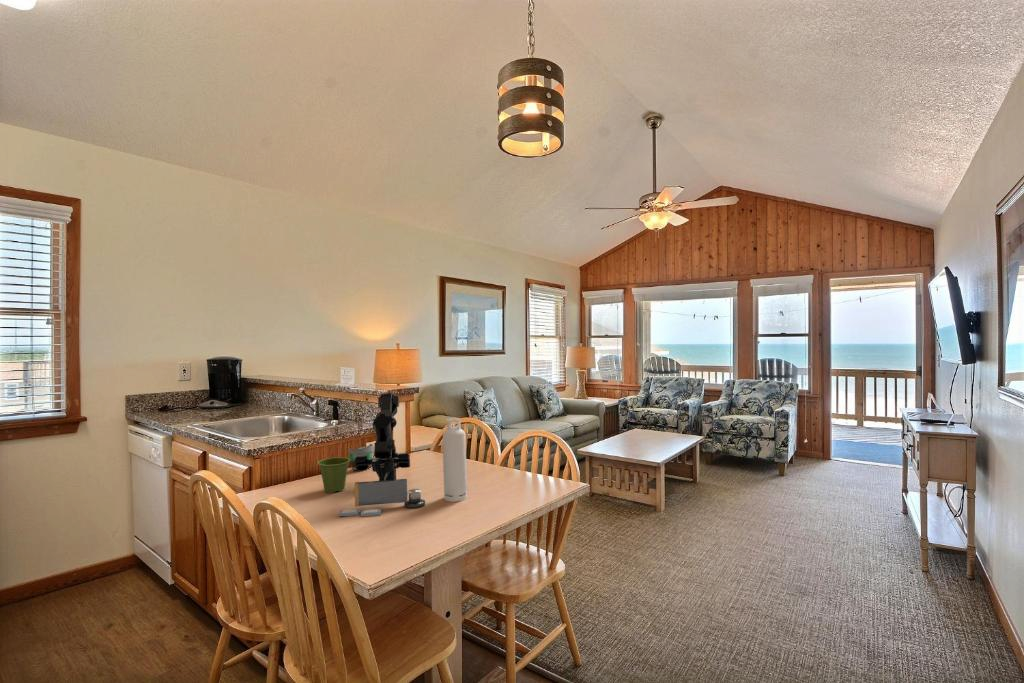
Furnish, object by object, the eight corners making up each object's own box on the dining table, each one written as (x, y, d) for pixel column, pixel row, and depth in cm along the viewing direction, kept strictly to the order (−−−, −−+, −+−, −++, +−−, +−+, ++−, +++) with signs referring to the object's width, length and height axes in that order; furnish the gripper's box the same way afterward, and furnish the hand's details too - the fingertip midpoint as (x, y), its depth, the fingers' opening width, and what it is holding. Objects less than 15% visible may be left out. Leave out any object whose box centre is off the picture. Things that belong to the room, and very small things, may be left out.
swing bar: (420, 499, 173) (420, 476, 173) (420, 502, 169) (420, 480, 169) (356, 504, 169) (355, 481, 169) (354, 507, 165) (354, 484, 165)
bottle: (444, 502, 172) (442, 421, 172) (443, 495, 180) (442, 418, 180) (467, 500, 174) (465, 420, 174) (466, 493, 182) (464, 417, 182)
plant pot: (313, 495, 184) (312, 465, 184) (324, 486, 196) (324, 457, 196) (345, 494, 184) (344, 464, 184) (355, 485, 196) (354, 456, 196)
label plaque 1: (340, 513, 164) (340, 509, 164) (359, 511, 165) (359, 508, 165) (338, 517, 160) (338, 513, 160) (358, 515, 161) (357, 512, 161)
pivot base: (413, 500, 175) (413, 497, 175) (429, 503, 172) (429, 500, 172) (400, 506, 169) (400, 503, 169) (416, 509, 166) (416, 506, 166)
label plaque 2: (362, 512, 164) (362, 509, 164) (381, 511, 165) (381, 507, 165) (361, 516, 160) (360, 513, 160) (380, 515, 161) (380, 511, 161)
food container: (358, 473, 213) (357, 450, 213) (348, 471, 217) (348, 448, 217) (380, 467, 224) (379, 444, 224) (371, 465, 227) (370, 443, 227)
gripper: (354, 433, 174) (350, 473, 163) (409, 430, 177) (408, 469, 167) (358, 451, 182) (354, 489, 171) (410, 447, 185) (410, 485, 174)
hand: (381, 483), depth 171 cm, fingers closed
